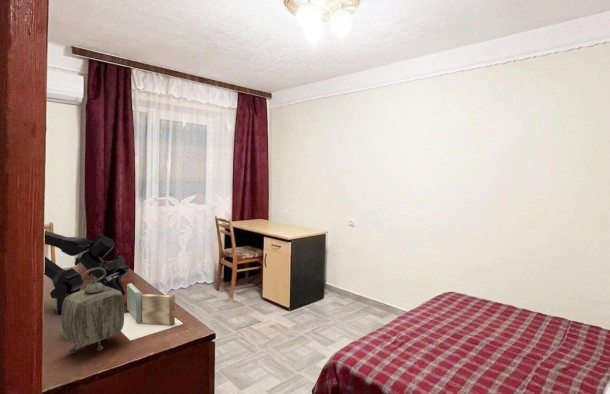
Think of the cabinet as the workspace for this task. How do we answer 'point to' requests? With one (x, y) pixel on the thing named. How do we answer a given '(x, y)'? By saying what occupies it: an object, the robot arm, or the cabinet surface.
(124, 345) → the cabinet surface
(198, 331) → the cabinet surface
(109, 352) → the cabinet surface
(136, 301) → the folding fence panel
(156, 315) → the brown flat square block
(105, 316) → the tabletop clock
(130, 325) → the card
